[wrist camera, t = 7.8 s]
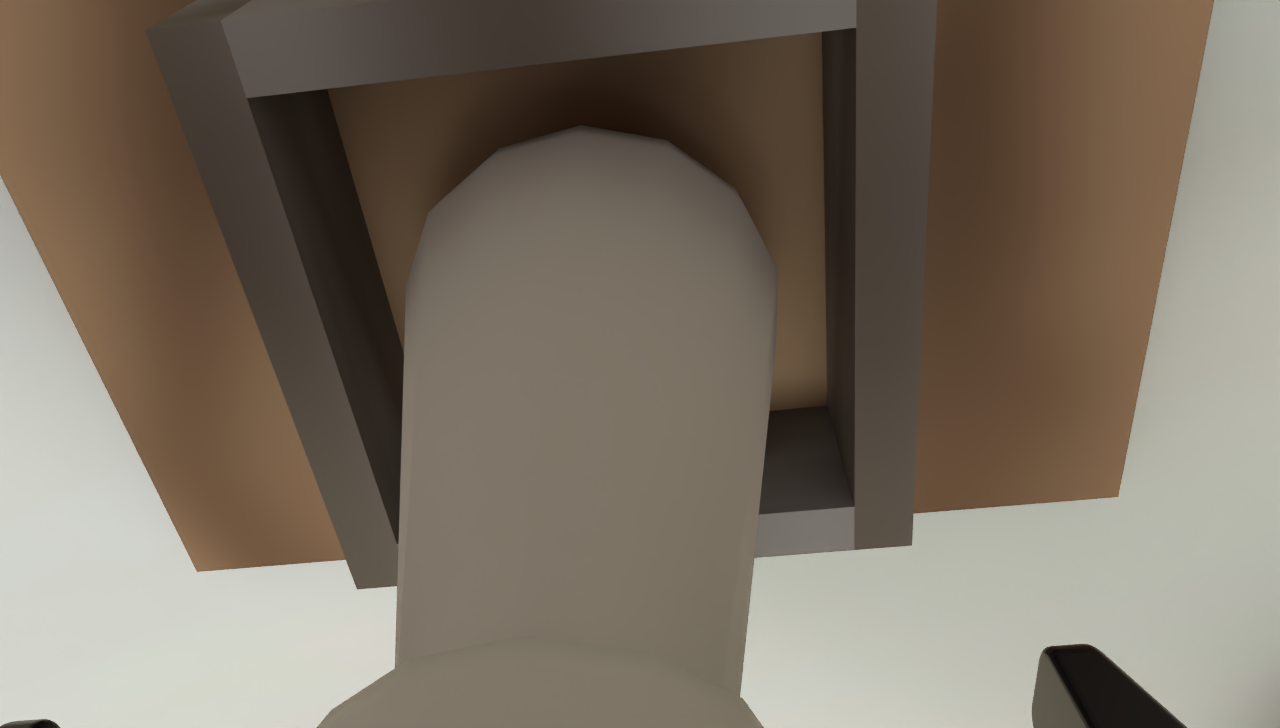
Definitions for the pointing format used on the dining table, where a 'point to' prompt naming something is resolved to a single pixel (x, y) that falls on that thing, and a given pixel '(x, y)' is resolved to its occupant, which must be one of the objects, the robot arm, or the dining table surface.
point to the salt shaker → (579, 445)
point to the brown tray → (636, 104)
